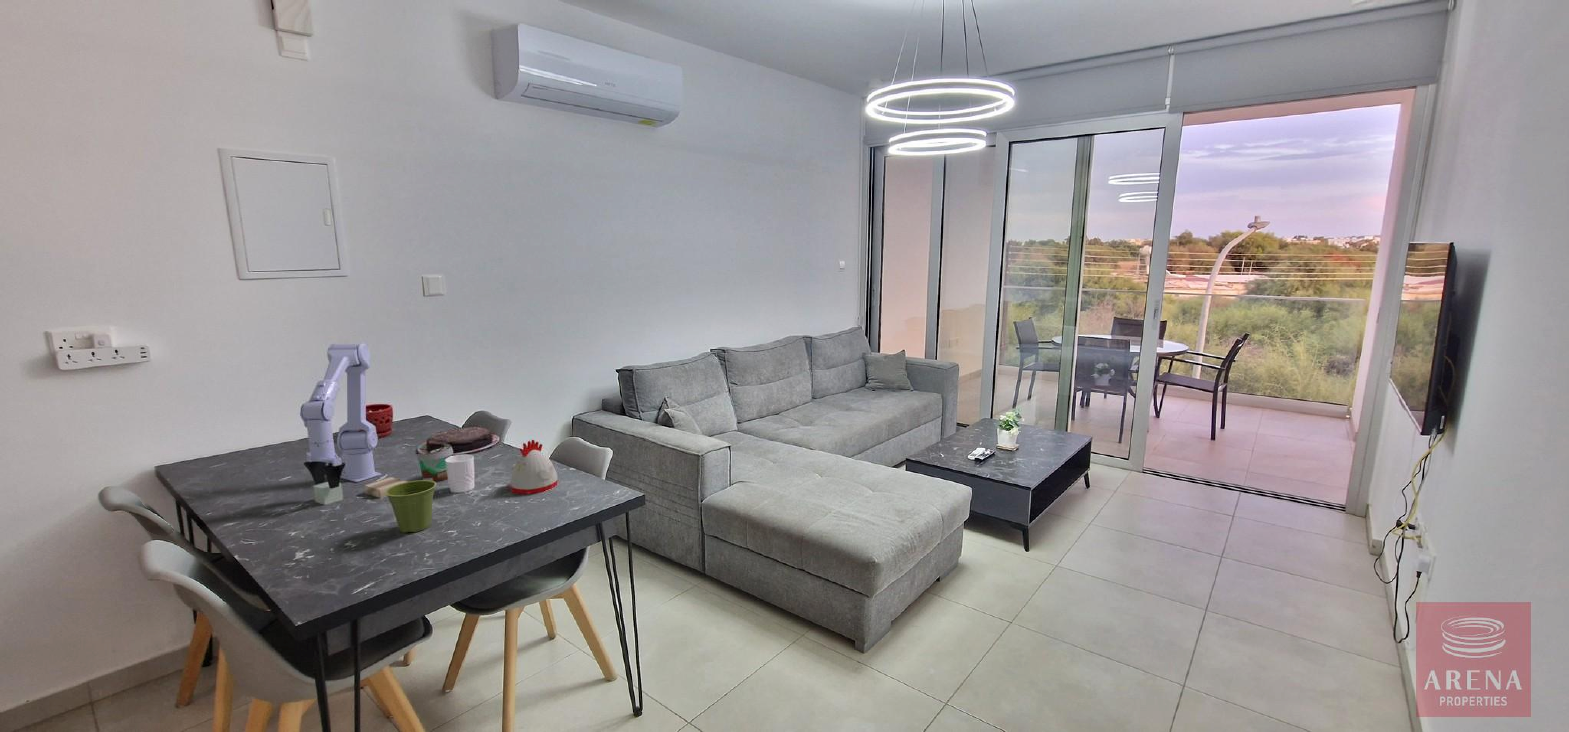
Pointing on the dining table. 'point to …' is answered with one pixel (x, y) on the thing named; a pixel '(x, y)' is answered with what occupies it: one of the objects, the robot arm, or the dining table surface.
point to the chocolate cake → (461, 440)
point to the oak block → (381, 487)
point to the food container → (435, 463)
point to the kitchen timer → (532, 471)
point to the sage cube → (327, 493)
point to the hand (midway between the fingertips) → (327, 485)
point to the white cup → (460, 472)
